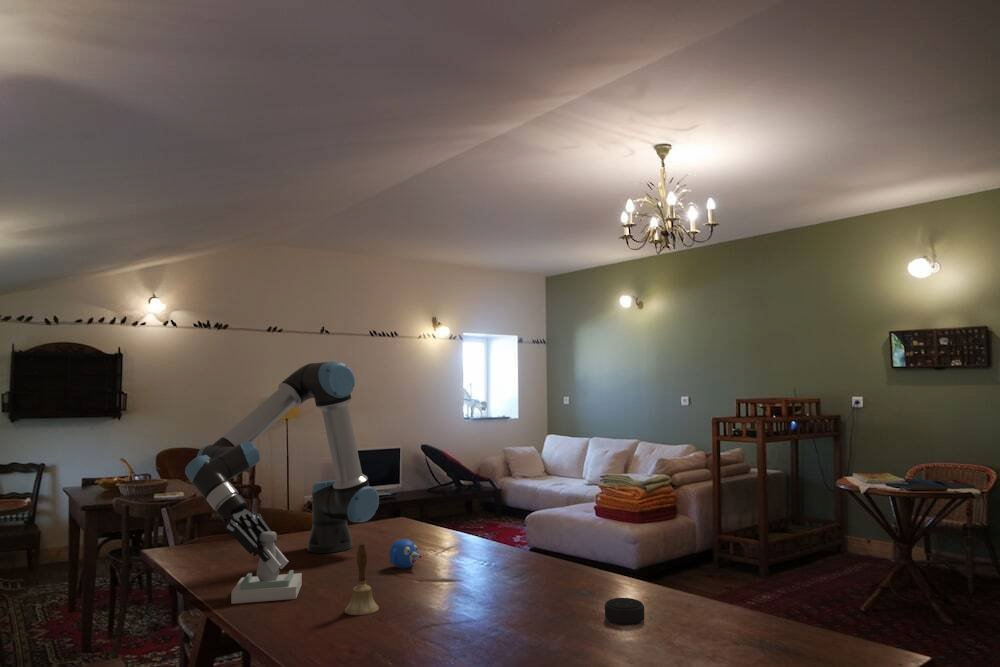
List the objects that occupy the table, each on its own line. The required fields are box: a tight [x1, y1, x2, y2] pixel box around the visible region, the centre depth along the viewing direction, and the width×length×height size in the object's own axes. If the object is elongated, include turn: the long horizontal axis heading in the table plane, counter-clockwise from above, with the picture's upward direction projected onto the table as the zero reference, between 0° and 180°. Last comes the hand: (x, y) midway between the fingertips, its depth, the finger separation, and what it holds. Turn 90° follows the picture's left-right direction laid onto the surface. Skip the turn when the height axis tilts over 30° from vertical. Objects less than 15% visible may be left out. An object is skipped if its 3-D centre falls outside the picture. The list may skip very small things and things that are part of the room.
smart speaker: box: [604, 597, 646, 626], centre depth 155 cm, size 9×9×4 cm
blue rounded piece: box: [388, 538, 423, 569], centre depth 205 cm, size 12×12×8 cm
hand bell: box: [344, 542, 380, 616], centre depth 167 cm, size 8×8×16 cm
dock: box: [230, 569, 303, 604], centre depth 182 cm, size 16×14×4 cm
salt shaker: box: [256, 530, 281, 582], centre depth 183 cm, size 6×6×13 cm
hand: (281, 566), depth 182 cm, fingers closed on salt shaker, 3 cm apart
